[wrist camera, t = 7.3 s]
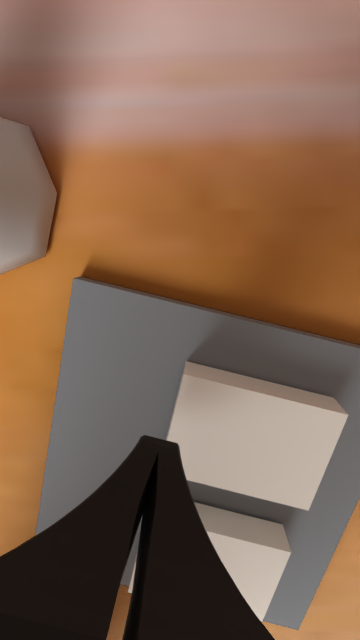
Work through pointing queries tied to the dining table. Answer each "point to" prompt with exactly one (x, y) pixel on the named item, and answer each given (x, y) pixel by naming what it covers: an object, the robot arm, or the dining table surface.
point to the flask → (23, 197)
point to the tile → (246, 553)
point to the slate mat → (158, 403)
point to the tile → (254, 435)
